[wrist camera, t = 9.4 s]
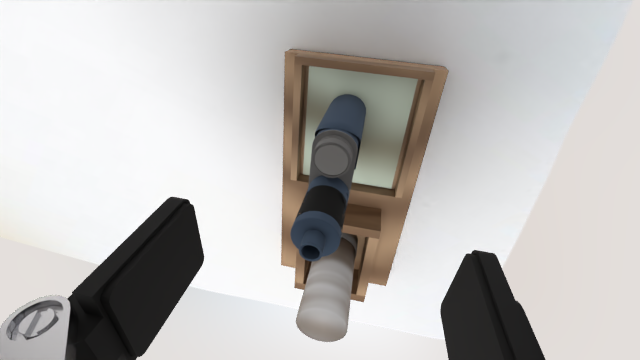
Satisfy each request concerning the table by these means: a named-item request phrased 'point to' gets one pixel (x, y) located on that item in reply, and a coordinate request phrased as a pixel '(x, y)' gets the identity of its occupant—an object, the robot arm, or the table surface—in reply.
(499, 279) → the robot arm
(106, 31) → the table surface
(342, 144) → the vaping device
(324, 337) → the holder
